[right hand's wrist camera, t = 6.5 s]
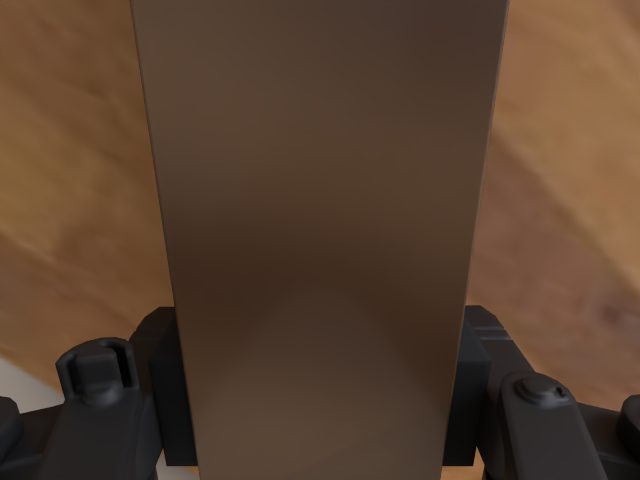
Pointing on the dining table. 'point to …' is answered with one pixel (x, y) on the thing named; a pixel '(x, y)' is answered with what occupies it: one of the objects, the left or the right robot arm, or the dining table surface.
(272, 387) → the bar
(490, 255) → the dining table surface
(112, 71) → the dining table surface
